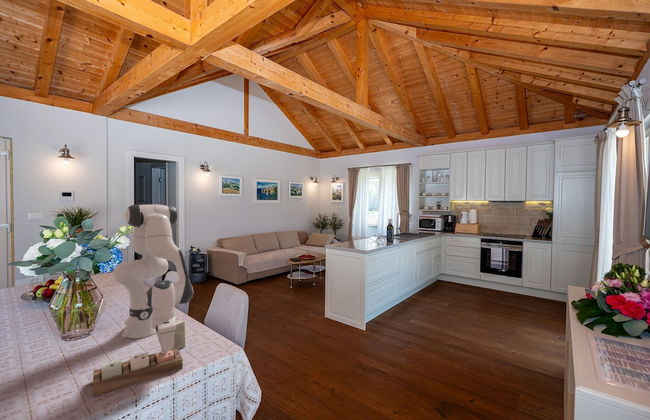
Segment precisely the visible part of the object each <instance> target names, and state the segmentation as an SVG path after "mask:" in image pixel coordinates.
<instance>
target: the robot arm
mask: <svg viewBox="0 0 650 420" xmlns="http://www.w3.org/2000/svg"><path fill="white" fill-rule="evenodd" d="M124 216H125V220H126V223H127V224H128V225H129V226H131V227H133V232H132V233H133V234H132V241H131V243H132V244H131V248H132V250H133V252H135V253H136V254H138V255H141V256H142V257H141V258H140V259H134V260H130V261H125V262H122V263H119V264H117V265H116V266H115V267H114V269H113V271H112V278H113V279H114V281H115V282H116V283H118V284H120V285H122V286H124V288H126V290H127V292H128V295H129V303H130V304H129V305H130V307H129V310H128V314H129V315H128V318H127V319H125V321H124V325H125V328H124V329H123V332H122V334H121V338H123V339H125V338H127V339H128V338H129V339H141V338H142V339H143V338H145V337H150V336H152V335H155V334H156V336H157V338H158V342H159V345H160V348H161V351H162V354H163V355H164V354H167V351H171V350H173V347H174V330H176V321H177V320H176V319H177V317H176V316H177V313H176V307H175V305H184V304H188V303H189V302H190V301H191V300H192V299H193V297H194V289H193V288H194V287H193V285H192V282H191V279H190V275H189V271H188V269H187V264H186V261H185V257H184V254H183V251H182V249H181V248H180V247H178V246H177V245H176V244H175V242H174V240H173V230H172V226H174V225H175V224H176V223H177V221H178V216H179V214H178V210H177V208H176V207H175V206H173V205H170V204H169V205H165V204H157V203H154V204H131V205H129V206H128V207H127V209H126V212H125V215H124ZM168 261H170V262H172V263H173V264H174V265H175V269H176V272H177V277H178V281H177V282H173V281H172V280H169V279H168V280H166V279H165V280H164V279H163V280H159V281H157V282H155V283H153V285H152V286H148V285H145V282H144V281H145V280H151V279H153V278H158V277H160V276H163V275H165V274H166V273H167V271H168V269H169V262H168ZM161 351H160V352H161Z"/></svg>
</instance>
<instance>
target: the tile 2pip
mask: <svg viewBox="0 0 650 420" xmlns="http://www.w3.org/2000/svg"><path fill="white" fill-rule="evenodd" d="M148 355H149V353H148V352H147V351H146V352H143V353H140V354H135V355H132V356H130V357H129V360H130V371H134V370H138V369H141V368H144V367H148V366H149V356H148Z"/></svg>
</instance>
